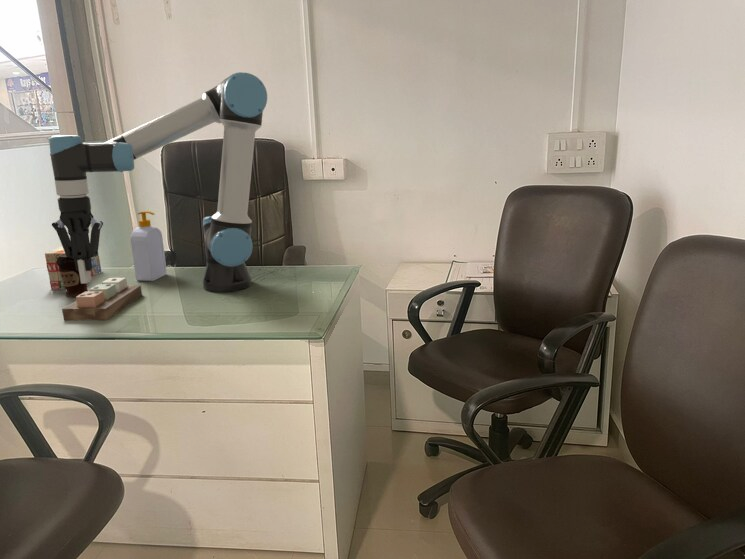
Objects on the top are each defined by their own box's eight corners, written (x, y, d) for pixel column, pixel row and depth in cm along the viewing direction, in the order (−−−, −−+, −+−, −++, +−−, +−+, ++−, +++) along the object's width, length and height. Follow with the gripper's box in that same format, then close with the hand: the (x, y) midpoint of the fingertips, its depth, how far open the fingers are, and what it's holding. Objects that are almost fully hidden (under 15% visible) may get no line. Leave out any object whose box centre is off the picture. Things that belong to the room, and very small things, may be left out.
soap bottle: (154, 281, 187) (145, 214, 181) (135, 280, 188) (126, 213, 182) (169, 274, 195) (161, 209, 189) (151, 273, 197) (142, 209, 190)
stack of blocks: (84, 272, 201) (79, 238, 197) (101, 272, 201) (96, 238, 197) (50, 289, 180) (44, 252, 177) (69, 289, 180) (63, 252, 177)
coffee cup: (79, 299, 169) (72, 258, 166) (55, 298, 171) (48, 257, 167) (98, 291, 177) (92, 251, 174) (75, 289, 179) (68, 250, 176)
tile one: (127, 287, 170) (125, 277, 169) (119, 291, 165) (118, 281, 165) (111, 287, 170) (109, 277, 170) (103, 292, 166) (101, 281, 165)
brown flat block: (142, 295, 172) (140, 285, 172) (107, 319, 151) (105, 308, 150) (104, 295, 173) (102, 285, 172) (63, 319, 152) (61, 308, 151)
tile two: (116, 294, 164) (114, 283, 163) (108, 299, 159) (106, 288, 158) (99, 294, 164) (98, 283, 163) (90, 299, 159) (89, 288, 158)
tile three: (104, 301, 157) (102, 290, 156) (95, 307, 152) (93, 296, 151) (87, 301, 157) (85, 290, 156) (77, 307, 152) (75, 296, 151)
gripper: (104, 194, 150) (116, 278, 156) (57, 194, 150) (70, 278, 156) (90, 197, 142) (102, 286, 149) (40, 197, 143) (54, 285, 149)
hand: (86, 282), depth 153 cm, fingers closed
